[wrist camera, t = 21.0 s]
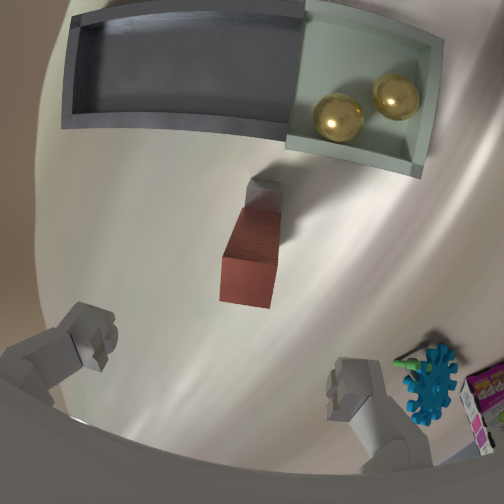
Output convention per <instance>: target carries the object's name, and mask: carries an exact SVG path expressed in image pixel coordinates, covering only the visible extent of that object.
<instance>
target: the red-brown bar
mask: <svg viewBox="0 0 504 504" xmlns="http://www.w3.org/2000/svg"><path fill="white" fill-rule="evenodd" d="M282 184H283V183H280V182H273V181H266V180H259V179H250V181H249V183H248V186H247V190H246V199H245V208H242V210H241V212H240V215H239V217H238V220H237V222H236V225H235V227H234V230H233V232H232V234H231V237H230V239H229V242H228V244H227V247H226V249H225V252H224V254H223V257H222V270H221V284H220V299H219V301H223V302H229V303H235V304H241V305H248V306H254V307H261V308H268V309H270V304H271V299H272V294H273V288H274V283H275V277H276V272H277V266H278V253H279V237H280V220H281V213H279V209H280V202H281V196H282Z"/></svg>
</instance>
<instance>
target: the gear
mask: <svg viewBox="0 0 504 504" xmlns="http://www.w3.org/2000/svg"><path fill="white" fill-rule="evenodd" d="M444 355H445V356H444ZM443 356H444V358H443ZM426 357H427V362H426V361H418V360H417V359H416V358H409V359H408V360H407V361H402V360H394V361H393V365H394V366H400V367H405V370H406V371H407V373H408V374H409V375H410V377H411V378H410V377H405V378H404V380H403V383H404V384H405V385H409V386H408V389H407V390H408V391H409V392H413V393H417V394H418V400H417V401H414V400H409V401H408V403H407V411H409V412H415V411H416V410H417V409H418V408H419V407H420V406H421V409H420V411H419V412H417V413H414V414H413V415H412V416H411V419H412V420H413V422H414V423H415V424H417V425H418V424H421V425H425V426H429V425H430V423H431V419H433V420H438V419H439V418H441V415H442V413H441V407H445V408H447V407H448V406H449V404H450V402H451V398H449V396H448V390H452V391H454V390H455V387H456V384H457V381H453V380H451V379H450V373H454V374H456V373H457V370H458V364H457V363H451V364H450V366H449V367H448V362H449V361H450V360H454V358H455V353H454V350H448V347H447V346H446V345H443V344H439V345H438V347H437V349H428V350H427V351H426ZM442 358H443V360H442Z"/></svg>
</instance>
